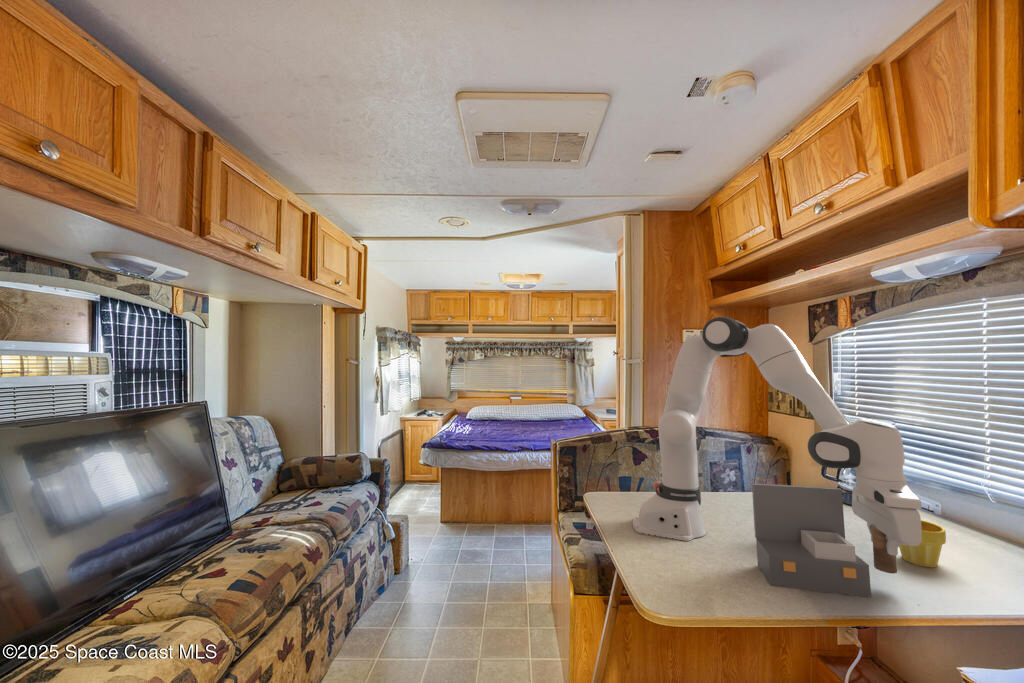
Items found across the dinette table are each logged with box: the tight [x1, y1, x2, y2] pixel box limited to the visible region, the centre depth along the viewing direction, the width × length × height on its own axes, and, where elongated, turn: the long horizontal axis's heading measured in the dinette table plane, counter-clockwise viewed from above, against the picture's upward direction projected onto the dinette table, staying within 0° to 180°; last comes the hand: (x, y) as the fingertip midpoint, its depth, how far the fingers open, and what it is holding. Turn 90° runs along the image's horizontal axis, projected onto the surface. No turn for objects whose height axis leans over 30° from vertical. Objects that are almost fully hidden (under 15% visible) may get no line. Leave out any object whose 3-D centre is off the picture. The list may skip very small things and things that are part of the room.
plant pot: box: [898, 519, 947, 568], centre depth 107 cm, size 10×10×10 cm
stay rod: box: [872, 524, 898, 574], centre depth 95 cm, size 4×4×10 cm
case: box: [751, 482, 872, 598], centre depth 99 cm, size 20×12×21 cm, turn 74°
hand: (884, 548), depth 95 cm, fingers closed on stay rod, 4 cm apart
